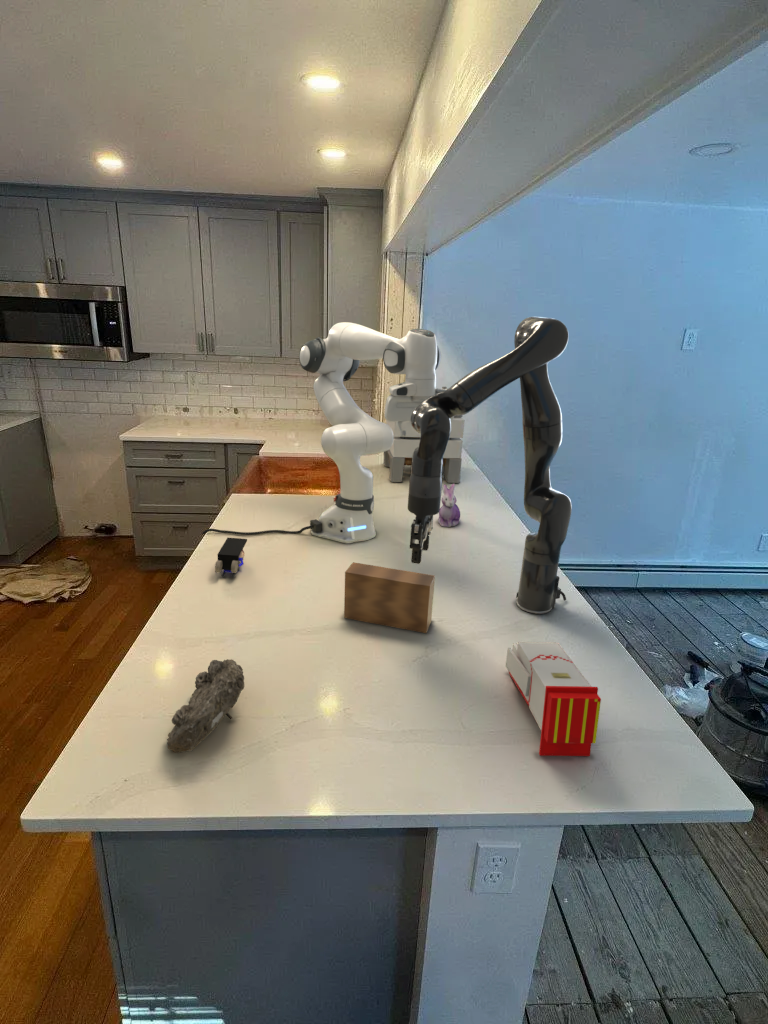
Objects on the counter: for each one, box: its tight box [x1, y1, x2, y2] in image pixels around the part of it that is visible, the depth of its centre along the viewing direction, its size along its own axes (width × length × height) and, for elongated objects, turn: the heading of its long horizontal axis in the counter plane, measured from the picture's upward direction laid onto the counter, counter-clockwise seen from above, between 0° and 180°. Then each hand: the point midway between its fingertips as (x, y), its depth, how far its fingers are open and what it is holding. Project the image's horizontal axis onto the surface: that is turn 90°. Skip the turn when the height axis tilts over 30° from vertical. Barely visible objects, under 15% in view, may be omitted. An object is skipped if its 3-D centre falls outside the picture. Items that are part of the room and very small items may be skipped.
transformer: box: [383, 386, 465, 484], centre depth 268 cm, size 34×33×41 cm
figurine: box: [437, 483, 461, 528], centre depth 209 cm, size 9×10×15 cm
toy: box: [505, 641, 602, 757], centre depth 113 cm, size 12×13×30 cm
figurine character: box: [214, 537, 248, 578], centre depth 166 cm, size 7×8×15 cm
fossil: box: [166, 658, 245, 754], centre depth 106 cm, size 22×10×15 cm
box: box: [343, 562, 436, 634], centre depth 142 cm, size 22×6×13 cm, turn 74°
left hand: (418, 436), depth 167 cm, fingers open, 8 cm apart
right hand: (420, 556), depth 136 cm, fingers open, 8 cm apart
